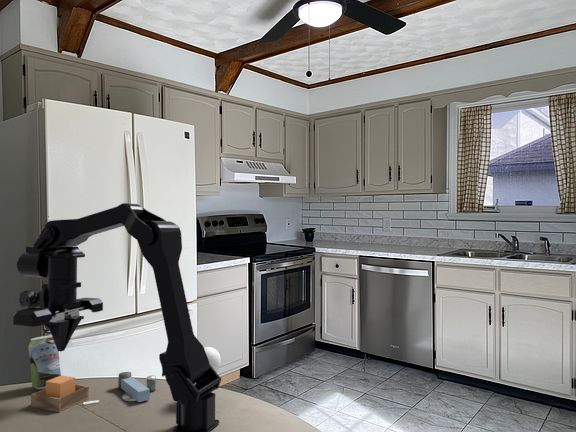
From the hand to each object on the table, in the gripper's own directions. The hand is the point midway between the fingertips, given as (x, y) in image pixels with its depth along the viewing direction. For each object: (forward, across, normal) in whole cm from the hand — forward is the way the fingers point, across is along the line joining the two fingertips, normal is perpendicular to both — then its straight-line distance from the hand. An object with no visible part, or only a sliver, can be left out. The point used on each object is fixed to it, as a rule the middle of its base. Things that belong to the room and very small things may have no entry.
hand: (61, 350), depth 95 cm
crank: (+11, -9, +11) cm, 18 cm away
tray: (+11, 0, 0) cm, 11 cm away
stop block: (+11, 0, 0) cm, 11 cm away
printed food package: (+11, -6, -11) cm, 17 cm away
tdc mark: (+11, -2, +6) cm, 13 cm away
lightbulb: (+11, -14, +28) cm, 33 cm away
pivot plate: (+11, -8, +13) cm, 19 cm away
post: (+11, -12, +14) cm, 22 cm away
